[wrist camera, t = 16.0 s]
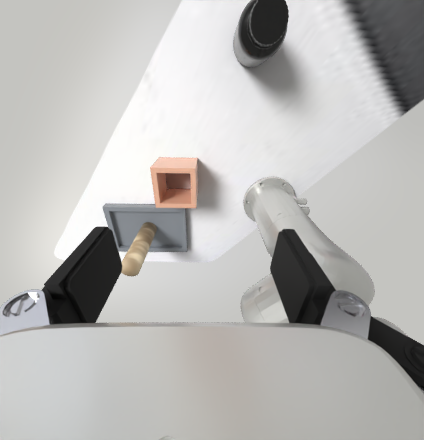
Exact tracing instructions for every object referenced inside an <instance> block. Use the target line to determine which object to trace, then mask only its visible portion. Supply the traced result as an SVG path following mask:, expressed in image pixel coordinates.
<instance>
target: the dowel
mask: <svg viewBox="0 0 424 440" xmlns="http://www.w3.org/2000/svg"><path fill="white" fill-rule="evenodd" d="M156 231H157V227H156V226H155V225H154V224H153V223H151V222H145V223H144V224H143V225H142V227H141V228H140V230H139V232H138V234H137V236H136V237H135V239H134V241H133V243H132V245H131V246H130V248H129V250H128V252H127V254H126V255H125V257H124V259H123V261H122V271H121V272H122V273H123V274H125V275H127V276H136V275H138V273H139V271H140V269H141V267H142V264H143V262H144V260H145V257H146V255H147V252H148V250H149V248H150V245H151V243H152V241H153V238H154V236H155V233H156Z"/></svg>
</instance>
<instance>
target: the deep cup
mask: <svg viewBox="0 0 424 440" xmlns="http://www.w3.org/2000/svg"><path fill="white" fill-rule="evenodd" d="M150 169H151V176H152V184H153V191H154V198H155V205H156V208H196V206H197V197H198V163H197V158H171V157H159V158H158V159H157V161H156V162H155V163H154V164H153V165H152V166H151V167H150ZM165 173H189V174H190V179H191V189H167V184H166V174H165Z"/></svg>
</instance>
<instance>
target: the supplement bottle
mask: <svg viewBox="0 0 424 440" xmlns="http://www.w3.org/2000/svg"><path fill="white" fill-rule="evenodd" d="M288 17H289V15H288V6H287V5H286V1H285V0H251V1H250V2H249V3H248V4H247V5H246V7H245V9H244V10H243V12H242V14H241V17H240V20H239V23H238V26H237V28H236V31H235V35H234V40H233V48H234V53H235V56H236V58H237V60H238V61H239V62H240V63H241V64H242V65H244V66H246V67H256V66H258V65H260V64H262V63H263V62H265V61H266V60H267V59H269V58H270V57H271V56H273V55H274V54H275V53H276V52H277V51H278V50H279V48H280V47H281V45H282V43H283V41H284V39H285V36H286V32H287V24H288Z"/></svg>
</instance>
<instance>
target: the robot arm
mask: <svg viewBox="0 0 424 440" xmlns="http://www.w3.org/2000/svg"><path fill="white" fill-rule="evenodd" d="M260 183H261V184H260ZM283 183H284V184H283ZM246 201H247V202H246ZM243 203H244V209H245V212H246V214H247V216H248V217H249V218H250V219H251V220H253V221H255V222H256V223H257V226H258V228H259V231H260V233H261V236H262V239H263V241H264V244H265V246H266V248H267V251H268V253H269V254H270V255H271V257H272V262H271V267H270V269H271V274H269V275H268V276H266V277H265V278H263V279H262V280H260V281H259V282H257V283H256V284H255V285H253V286H252V287H251V288H249V289H248V290H247V291H246V292H245V293H244V295H243V296H242V299H241V312H242V316H243V319H244V321H245V323H219V322H217V323H215V322H214V323H213V322H211V323H208V322H207V323H206V322H205V323H204V322H202V323H201V322H200V323H197V322H194V323H188V322H187V323H186V322H182V323H181V322H178V323H176V322H175V323H95V322H96V320H97V318H98V317H99V315H100V312H101V311H102V308H103V307H104V305H105V303H106V301H107V299H108V297H109V295H110V293H111V291H112V289H113V287H114V285H115V283H116V281H117V279H118V277H119V275H120V273H121V271H122V263H121V259H120V256H119V252H118V249H117V245H116V242H115V238H114V235H113V232H112V230H111V229H109V228H108V227H95V228H94V229H93V230H92V231H91V232H90V234H89V235H88V236H87V237H86V238H85V239H84V240H83V241H82V243H81V244H80V245H79V246H78V247H77V248H76V249H75V250H74V251H73V253H72V254H71V255H70V256H69V257H68V258H67V259H66V260H65V262H64V263H63V264H62V265H61V266H60V267H59V268H58V269H57V270H56V271H55V273H54V274H53V275H52V276H51V277H50V278H49V279H48V280H47V282H46V283H45V284H44V285H45V287H44V288H43V289H42V290H38V289H32V290H27V291H24V292H21V293H19V294H17V295H15V296H13V297H12V298H10V299H9V300H7V301H6V302H5V303H4V304H3V305H2V306H1V307H0V440H424V345H422V344H420V343H418V342H417V341H415V340H413V339H411V338H409V337H408V336H407V335H406V334H405V333H404V332H403V331H402V330H401V329H400V328H398V327H397V326H395V325H394V324H393V323H391V322H389V321H387V320H385V319H382V318H378V317H372V316H371V312H370V309H369V307H368V306H369V304H370V303H371V301H372V300H373V297H374V292H375V291H374V284H373V282H372V279H371V278H370V276H369V274H368V273H367V272H366V271H365V270H364V268H363V267H362V266H361V265H360V264H359V263H358V262H357V261H356V260H354V259H353V258H352V257H351V256H350V255H348V254H347V253H346V252H344V251H343V250H342V249H341V248H339V247H338V246H337V245H336V244H334V243H333V242H332V241H331V240H330V239H329V238H327V236H326V235H324V233H323V232H322V231H321V230H320V229H319V228H318V227H317V226H316V225H315V224H314V222H313V221H311V219H310V218H309V217H308V216H307V215H308V214H309V211H310V210H309V207H300V206H299V205H298V204H306V203H307V200H306V199H297V198H296V197H295V193H294V190H293V188H292V187H291V185H290V184H289V183H288V182H286V181H285V180H283V179H281V178H277V177H267V178H263V179H261V180H259V181H257V182H255V183H254V184H253V185H252V186H251V187H250V188H249V189H248V190H247V192H246V194H245V197H244V202H243Z"/></svg>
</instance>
